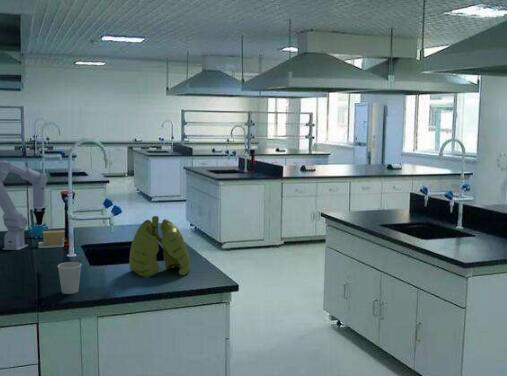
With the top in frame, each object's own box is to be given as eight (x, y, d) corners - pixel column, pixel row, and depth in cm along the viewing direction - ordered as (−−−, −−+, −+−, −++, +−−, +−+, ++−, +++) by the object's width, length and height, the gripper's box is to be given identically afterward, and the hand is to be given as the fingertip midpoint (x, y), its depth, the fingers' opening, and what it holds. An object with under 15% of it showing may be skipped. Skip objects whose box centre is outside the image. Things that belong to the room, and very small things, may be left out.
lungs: (129, 279, 220) (129, 219, 217) (129, 268, 235) (129, 212, 232) (192, 276, 226) (193, 217, 223) (188, 266, 241) (189, 211, 238)
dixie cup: (67, 287, 207) (66, 260, 206) (86, 289, 205) (86, 263, 204) (53, 293, 200) (52, 266, 198) (73, 296, 197) (72, 268, 196)
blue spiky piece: (25, 235, 286) (31, 220, 292) (26, 242, 290) (32, 226, 297) (47, 238, 287) (52, 222, 293) (48, 244, 292) (53, 229, 298)
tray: (68, 242, 281) (68, 234, 280) (69, 246, 272) (69, 238, 271) (38, 243, 276) (38, 235, 276) (38, 248, 267) (38, 240, 266)
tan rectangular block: (64, 242, 277) (64, 230, 277) (64, 243, 274) (64, 231, 273) (43, 243, 274) (42, 231, 273) (43, 245, 270) (42, 232, 269)
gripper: (47, 198, 272) (48, 225, 274) (47, 194, 286) (48, 220, 288) (32, 198, 270) (32, 226, 272) (32, 194, 284) (33, 221, 285)
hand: (39, 223), depth 279 cm, fingers open, 7 cm apart
